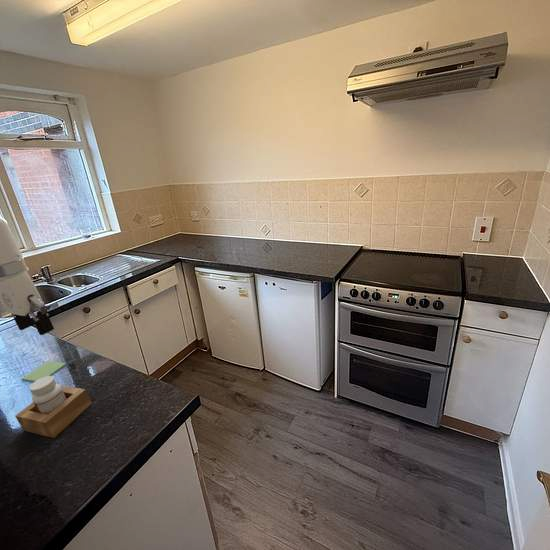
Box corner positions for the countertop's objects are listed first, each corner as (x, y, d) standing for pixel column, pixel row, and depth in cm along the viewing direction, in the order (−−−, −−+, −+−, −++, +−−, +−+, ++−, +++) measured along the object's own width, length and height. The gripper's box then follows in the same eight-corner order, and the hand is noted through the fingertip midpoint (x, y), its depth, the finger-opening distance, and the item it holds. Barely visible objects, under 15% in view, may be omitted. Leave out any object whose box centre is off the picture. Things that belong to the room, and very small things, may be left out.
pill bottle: (49, 412, 81) (32, 378, 77) (75, 404, 82) (59, 371, 78) (41, 429, 75) (21, 394, 71) (68, 421, 77) (50, 386, 73)
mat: (21, 379, 97) (21, 378, 96) (48, 362, 105) (47, 360, 104) (40, 382, 94) (40, 381, 94) (66, 364, 102) (66, 363, 101)
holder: (23, 430, 76) (14, 415, 74) (63, 398, 85) (56, 384, 84) (53, 438, 72) (45, 422, 70) (91, 403, 82) (85, 389, 80)
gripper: (-29, 273, 73) (3, 333, 79) (7, 276, 65) (39, 342, 71) (7, 262, 79) (34, 319, 85) (43, 264, 71) (70, 326, 78)
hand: (36, 329), depth 78 cm, fingers open, 9 cm apart
